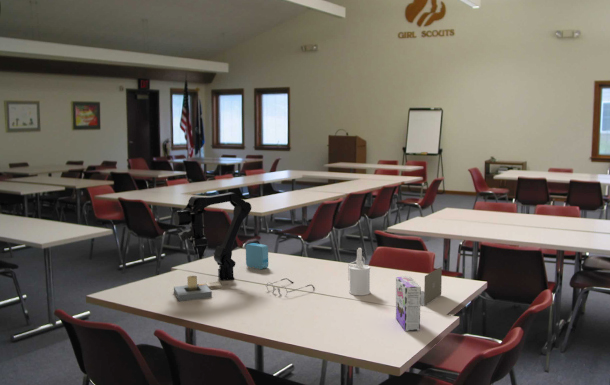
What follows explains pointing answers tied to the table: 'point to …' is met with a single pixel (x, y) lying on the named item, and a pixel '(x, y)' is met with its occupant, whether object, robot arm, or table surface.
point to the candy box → (408, 303)
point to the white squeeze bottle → (359, 276)
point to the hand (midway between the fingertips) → (198, 256)
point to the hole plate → (192, 292)
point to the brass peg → (192, 283)
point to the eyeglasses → (285, 288)
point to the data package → (257, 255)
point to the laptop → (431, 287)
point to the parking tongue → (213, 285)
